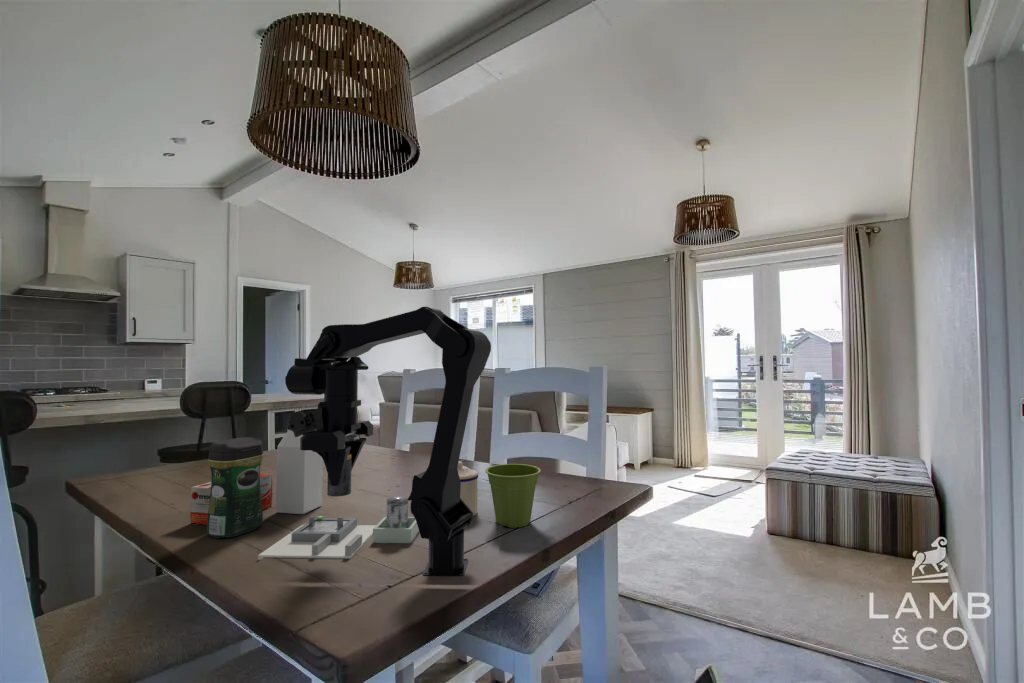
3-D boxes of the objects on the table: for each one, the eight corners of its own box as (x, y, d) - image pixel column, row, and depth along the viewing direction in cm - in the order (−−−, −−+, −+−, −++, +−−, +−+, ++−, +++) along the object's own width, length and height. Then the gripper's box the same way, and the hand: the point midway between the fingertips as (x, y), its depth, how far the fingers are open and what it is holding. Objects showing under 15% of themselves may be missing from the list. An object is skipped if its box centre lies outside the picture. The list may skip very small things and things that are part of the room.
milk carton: (303, 515, 107) (305, 429, 108) (275, 513, 109) (277, 428, 110) (322, 506, 114) (323, 425, 115) (295, 504, 116) (297, 424, 117)
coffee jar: (243, 521, 103) (245, 434, 104) (269, 526, 100) (271, 436, 101) (197, 536, 94) (200, 440, 95) (224, 542, 91) (227, 443, 92)
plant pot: (473, 523, 102) (473, 469, 102) (513, 511, 110) (512, 461, 111) (513, 537, 93) (513, 478, 94) (552, 523, 102) (552, 469, 102)
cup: (411, 545, 89) (411, 529, 89) (372, 545, 89) (372, 528, 89) (420, 532, 96) (420, 517, 96) (384, 531, 96) (384, 516, 96)
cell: (345, 496, 84) (346, 454, 84) (323, 496, 84) (324, 454, 84) (354, 490, 88) (354, 451, 88) (332, 490, 88) (333, 450, 88)
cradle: (335, 536, 90) (335, 522, 90) (301, 536, 90) (302, 522, 90) (348, 525, 96) (348, 512, 96) (316, 524, 97) (317, 511, 97)
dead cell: (404, 539, 91) (405, 501, 91) (383, 539, 91) (384, 500, 91) (410, 532, 95) (410, 495, 95) (389, 532, 95) (390, 495, 95)
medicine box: (244, 505, 116) (244, 471, 116) (272, 507, 114) (273, 473, 114) (188, 525, 101) (189, 486, 102) (220, 528, 99) (221, 488, 100)
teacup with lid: (484, 510, 111) (484, 459, 111) (469, 522, 102) (469, 467, 103) (436, 506, 114) (436, 456, 115) (418, 517, 106) (418, 463, 106)
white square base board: (350, 561, 82) (350, 545, 82) (258, 559, 82) (258, 543, 83) (379, 529, 98) (379, 516, 98) (302, 528, 98) (302, 515, 99)
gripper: (319, 392, 97) (318, 471, 96) (269, 398, 78) (267, 496, 77) (374, 392, 96) (373, 471, 95) (336, 398, 77) (335, 497, 77)
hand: (339, 482), depth 86 cm, fingers closed on cell, 4 cm apart
